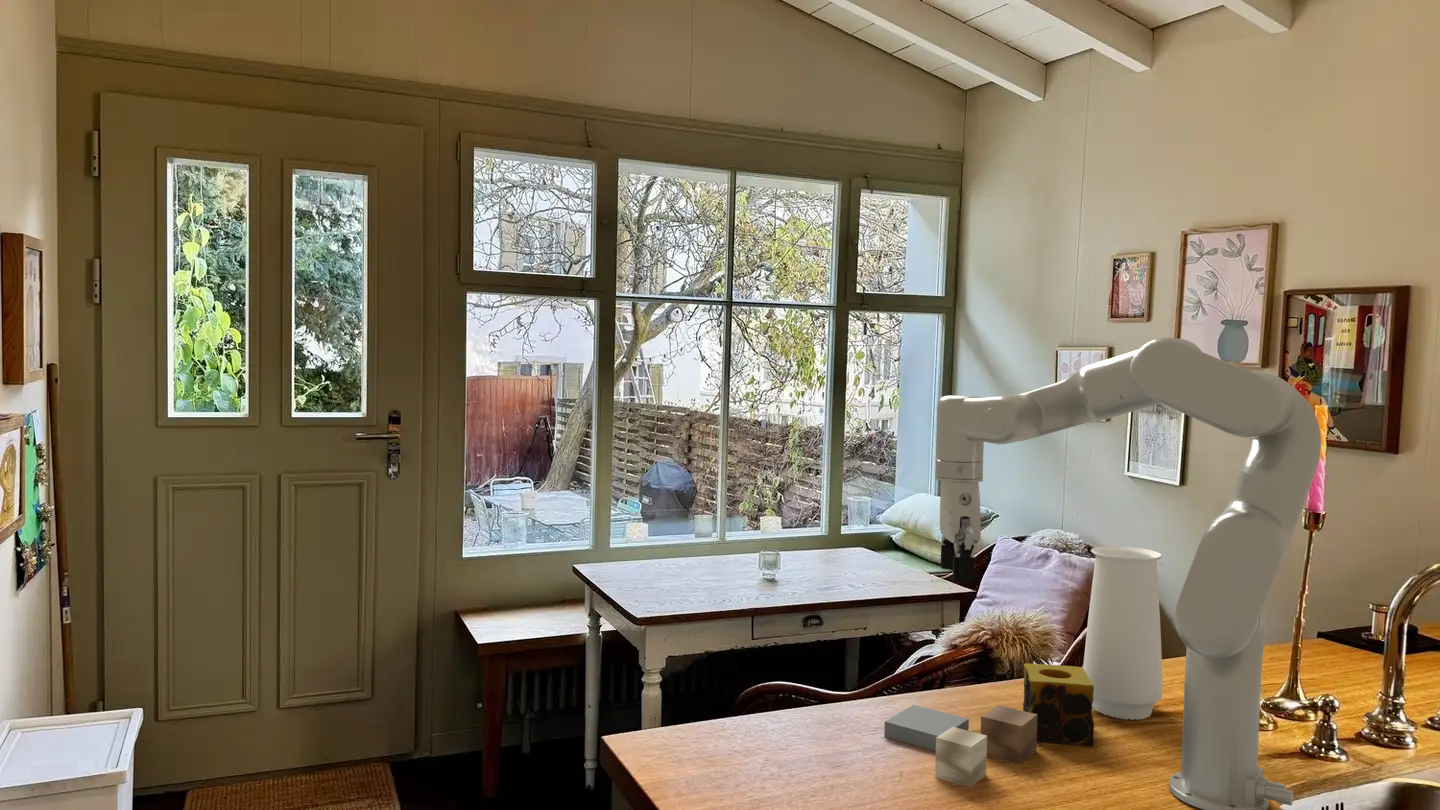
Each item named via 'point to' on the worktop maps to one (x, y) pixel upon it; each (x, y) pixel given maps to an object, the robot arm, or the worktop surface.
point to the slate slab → (922, 726)
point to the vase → (1124, 632)
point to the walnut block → (1010, 733)
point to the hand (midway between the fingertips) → (956, 575)
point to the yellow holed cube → (1060, 703)
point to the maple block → (961, 756)
